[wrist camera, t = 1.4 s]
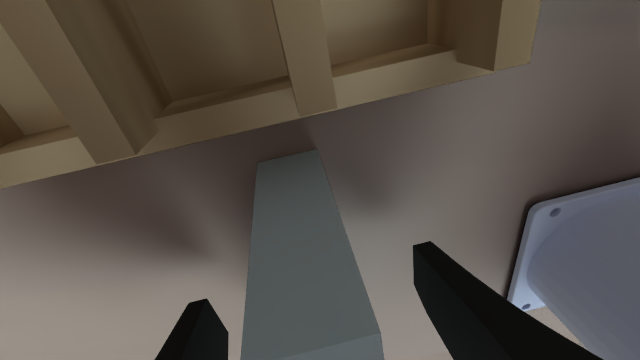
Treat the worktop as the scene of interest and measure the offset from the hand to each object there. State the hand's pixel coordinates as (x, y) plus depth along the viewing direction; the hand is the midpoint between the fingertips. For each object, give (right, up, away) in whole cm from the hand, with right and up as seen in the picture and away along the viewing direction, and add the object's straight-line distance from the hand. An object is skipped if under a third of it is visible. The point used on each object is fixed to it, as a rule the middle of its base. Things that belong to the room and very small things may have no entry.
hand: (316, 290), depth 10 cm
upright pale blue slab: (0, +1, +2) cm, 3 cm away
